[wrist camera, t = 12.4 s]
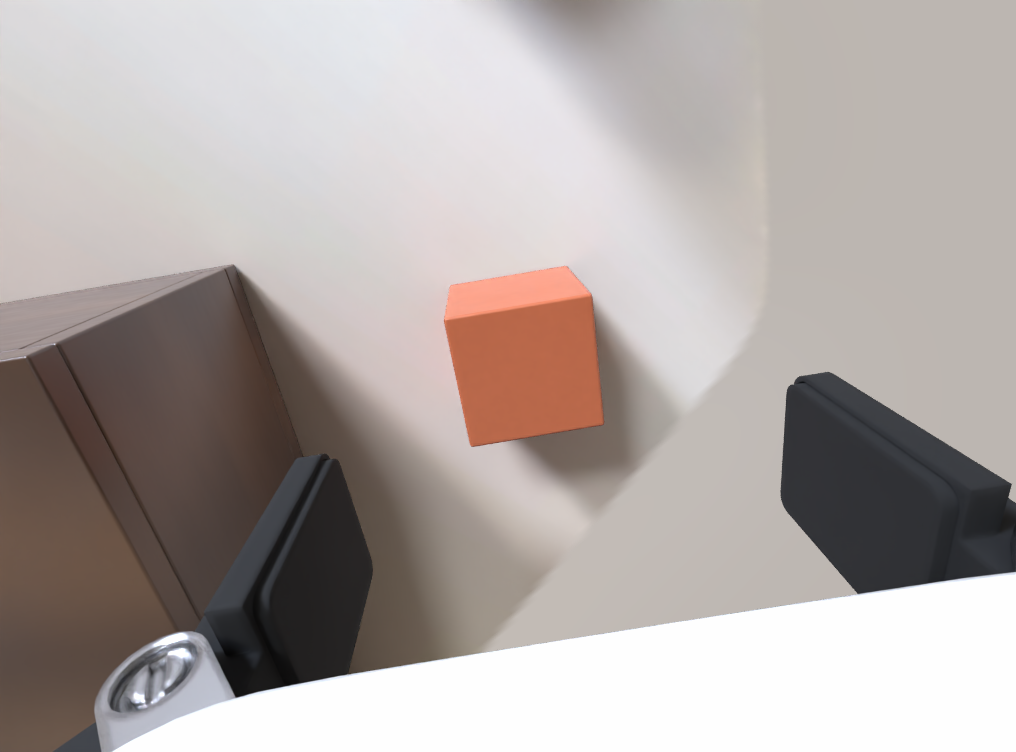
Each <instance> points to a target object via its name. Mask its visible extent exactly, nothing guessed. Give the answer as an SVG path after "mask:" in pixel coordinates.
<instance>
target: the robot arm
mask: <svg viewBox="0 0 1016 752" xmlns="http://www.w3.org/2000/svg"><path fill="white" fill-rule="evenodd" d="M1011 485H1012V484H1011V483H1009V482H1007V481H1006V480H1004V479H1002V478H1001V477H999V476H997V475H996V474H994V473H993V472H991V471H989V470H988V469H986V468H985V467H983V466H981V465H980V464H978V463H977V462H975V461H973V460H972V459H970V458H969V457H967V456H965V455H964V454H962V453H960V452H959V451H957V450H956V449H954V448H952V447H951V446H949V445H947V444H946V443H944V442H943V441H941V440H939V439H938V438H936V437H934V436H933V435H931V434H930V433H928V432H926V431H925V430H923V429H921V428H920V427H918V426H917V425H915V424H914V423H912V422H910V421H909V420H907V419H905V418H904V417H902V416H900V415H899V414H897V413H896V412H894V411H893V410H891V409H889V408H888V407H886V406H884V405H883V404H881V403H880V402H878V401H876V400H874V399H873V398H871V397H870V396H868V395H867V394H865V393H863V392H861V391H860V390H858V389H857V388H855V387H854V386H852V385H850V384H849V383H847V382H846V381H844V380H842V379H841V378H839V377H837V376H836V375H834V374H832V373H830V372H825V373H818V374H812V375H807V376H800V377H798V378H797V379H796V380H795V382H794V385H790V386H789V387H788V389H787V395H786V412H785V428H784V445H783V461H782V478H781V500H782V503H783V506H784V508H785V509H786V511H787V512H788V513H789V515H790V516H791V517H792V518H793V519H794V520H795V522H796V523H797V524H798V525H799V526H800V527H801V528H802V530H803V531H804V532H805V533H806V534H807V535H808V537H809V538H810V539H811V540H812V541H813V542H814V543H815V545H816V546H817V547H818V548H819V549H820V550H821V552H822V553H823V554H824V555H825V556H826V557H827V558H828V560H829V561H830V562H831V563H832V564H833V565H834V567H835V568H836V569H837V570H838V571H839V573H840V574H841V575H842V576H843V577H844V578H845V579H846V581H847V582H848V583H849V584H850V585H851V586H852V588H853V589H854V590H855V591H856V592H857V593H858V594H857V595H849V596H843V597H836V598H829V599H823V600H816V601H810V602H803V603H796V604H790V605H784V606H777V607H770V608H764V609H757V610H752V611H744V612H738V613H731V614H725V615H718V616H712V617H706V618H699V619H693V620H687V621H680V622H674V623H668V624H661V625H654V626H648V627H642V628H635V629H629V630H622V631H617V632H610V633H603V634H597V635H591V636H585V637H578V638H572V639H566V640H559V641H553V642H546V643H540V644H534V645H528V646H521V647H515V648H509V649H503V650H497V651H491V652H484V653H478V654H472V655H466V656H460V657H453V658H447V659H441V660H435V661H429V662H423V663H417V664H410V665H404V666H398V667H392V668H386V669H380V670H373V671H367V672H361V673H355V674H349V675H347V674H348V671H349V667H350V663H351V659H352V655H353V651H354V647H355V643H356V639H357V635H358V631H359V627H360V623H361V619H362V615H363V611H364V607H365V603H366V599H367V595H368V591H369V587H370V583H371V579H372V572H373V568H372V560H371V557H370V554H369V551H368V547H367V544H366V541H365V538H364V535H363V532H362V529H361V526H360V523H359V520H358V517H357V514H356V511H355V508H354V505H353V502H352V499H351V496H350V493H349V490H348V487H347V484H346V481H345V478H344V475H343V472H342V469H341V466H340V463H339V462H338V460H337V459H331V460H330V458H329V456H328V455H327V454H319V455H313V456H307V457H301V458H297V459H296V460H295V461H294V463H293V464H292V466H291V468H290V469H289V471H288V473H287V474H286V476H285V478H284V479H283V481H282V483H281V484H280V486H279V488H278V489H277V491H276V493H275V494H274V496H273V498H272V499H271V501H270V503H269V504H268V506H267V508H266V509H265V511H264V513H263V514H262V516H261V518H260V519H259V521H258V523H257V524H256V526H255V528H254V529H253V531H252V533H251V534H250V536H249V538H248V539H247V541H246V543H245V544H244V546H243V548H242V549H241V551H240V553H239V554H238V556H237V558H236V559H235V561H234V563H233V564H232V566H231V568H230V569H229V571H228V573H227V574H226V576H225V578H224V579H223V581H222V582H221V584H220V586H219V587H218V589H217V591H216V592H215V594H214V596H213V597H212V599H211V601H210V602H209V604H208V606H207V607H206V609H205V611H204V612H203V613H204V616H203V618H202V620H201V622H200V623H199V625H198V627H197V628H196V630H195V632H193V631H185V632H176V633H173V634H170V635H167V636H164V637H161V638H159V639H157V640H155V641H153V642H151V643H149V644H147V645H145V646H143V647H142V648H141V649H139V650H138V651H136V652H135V653H133V654H132V655H131V656H129V657H128V658H127V659H126V660H125V661H123V662H122V663H121V664H120V665H119V666H118V667H117V668H116V669H115V670H114V671H113V672H112V673H111V675H110V676H109V677H108V678H107V680H106V681H105V682H104V683H103V685H102V687H101V689H100V691H99V693H98V695H97V697H96V699H95V709H94V713H95V718H96V722H95V723H93V724H92V725H90V726H89V727H87V728H86V729H84V730H83V731H82V732H80V733H79V734H77V735H76V736H74V737H73V738H72V739H70V740H69V741H67V742H66V743H64V744H63V745H61V746H60V747H59V748H57V749H56V750H54V751H53V752H1016V503H1015V502H1013V501H1012V500H1010V499H1009V498H1008V496H1009V492H1010V489H1011Z"/></svg>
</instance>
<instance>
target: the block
mask: <svg viewBox="0 0 1016 752" xmlns="http://www.w3.org/2000/svg"><path fill="white" fill-rule="evenodd" d="M444 324H445V328H446V333H447V338H448V343H449V347H450V352H451V357H452V362H453V366H454V371H455V376H456V380H457V385H458V390H459V395H460V399H461V404H462V409H463V414H464V418H465V423H466V428H467V432H468V437H469V442H470V445H471V447H475V446H481V445H487V444H493V443H499V442H505V441H511V440H517V439H523V438H529V437H535V436H541V435H547V434H553V433H559V432H565V431H571V430H577V429H582V428H588V427H594V426H600V425H603V424H604V415H603V404H602V393H601V383H600V372H599V362H598V351H597V341H596V330H595V320H594V309H593V299H592V295H591V293H590V292H589V291H588V290H587V289H586V287H585V286H584V285H583V284H582V283H581V282H580V281H579V279H578V278H577V277H576V276H575V275H574V274H573V273H572V271H571V270H570V269H569V268H568V267H567V266H563V267H557V268H551V269H545V270H539V271H533V272H527V273H521V274H515V275H510V276H504V277H498V278H492V279H486V280H480V281H474V282H468V283H462V284H456V285H451V286H450V290H449V295H448V301H447V306H446V312H445V317H444Z"/></svg>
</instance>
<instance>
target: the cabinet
mask: <svg viewBox="0 0 1016 752" xmlns="http://www.w3.org/2000/svg"><path fill="white" fill-rule="evenodd" d="M301 457H303V455H302V453H301V450H300V447H299V444H298V441H297V439H296V436H295V433H294V430H293V427H292V425H291V422H290V419H289V416H288V413H287V411H286V408H285V405H284V402H283V399H282V397H281V394H280V391H279V388H278V386H277V383H276V380H275V377H274V374H273V372H272V369H271V366H270V363H269V360H268V358H267V355H266V352H265V349H264V346H263V344H262V341H261V338H260V335H259V332H258V330H257V327H256V324H255V321H254V318H253V316H252V313H251V310H250V307H249V305H248V302H247V299H246V296H245V293H244V291H243V288H242V285H241V282H240V279H239V277H238V274H237V271H236V268H235V266H234V265H227V266H221V267H215V268H209V269H203V270H197V271H191V272H185V273H179V274H173V275H168V276H162V277H156V278H150V279H144V280H138V281H132V282H126V283H120V284H114V285H108V286H102V287H96V288H91V289H85V290H79V291H73V292H67V293H61V294H55V295H49V296H43V297H37V298H31V299H25V300H19V301H13V302H8V303H2V304H0V752H53V751H54V750H56V749H57V748H59V747H60V746H61V745H63V744H64V743H66V742H67V741H69V740H70V739H72V738H73V737H74V736H76V735H77V734H79V733H80V732H82V731H83V730H84V729H86V728H87V727H89V726H90V725H92V724H93V723H95V722H96V718H95V713H94V709H95V699H96V697H97V695H98V693H99V691H100V689H101V687H102V685H103V683H104V682H105V681H106V680H107V678H108V677H109V676H110V675H111V673H112V672H113V671H114V670H115V669H116V668H117V667H118V666H119V665H120V664H121V663H122V662H123V661H125V660H126V659H127V658H128V657H129V656H131V655H132V654H133V653H135V652H136V651H138V650H139V649H141V648H142V647H143V646H145V645H147V644H149V643H151V642H153V641H155V640H157V639H159V638H161V637H164V636H167V635H170V634H173V633H176V632H185V631H193V632H195V630H196V628H197V627H198V625H199V623H200V622H201V620H202V618H203V616H204V613H203V612H204V611H205V609H206V607H207V606H208V604H209V602H210V601H211V599H212V597H213V596H214V594H215V592H216V591H217V589H218V587H219V586H220V584H221V582H222V581H223V579H224V578H225V576H226V574H227V573H228V571H229V569H230V568H231V566H232V564H233V563H234V561H235V559H236V558H237V556H238V554H239V553H240V551H241V549H242V548H243V546H244V544H245V543H246V541H247V539H248V538H249V536H250V534H251V533H252V531H253V529H254V528H255V526H256V524H257V523H258V521H259V519H260V518H261V516H262V514H263V513H264V511H265V509H266V508H267V506H268V504H269V503H270V501H271V499H272V498H273V496H274V494H275V493H276V491H277V489H278V488H279V486H280V484H281V483H282V481H283V479H284V478H285V476H286V474H287V473H288V471H289V469H290V468H291V466H292V464H293V463H294V461H295V460H296V459H297V458H301Z"/></svg>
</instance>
